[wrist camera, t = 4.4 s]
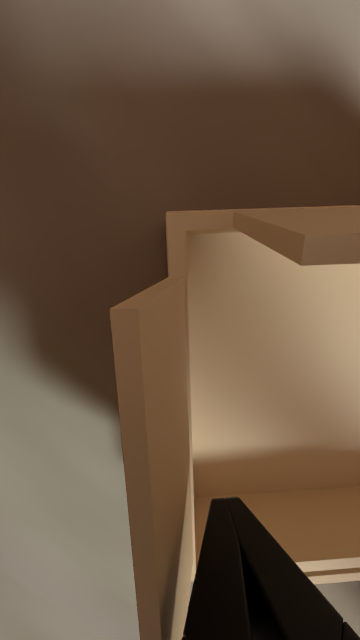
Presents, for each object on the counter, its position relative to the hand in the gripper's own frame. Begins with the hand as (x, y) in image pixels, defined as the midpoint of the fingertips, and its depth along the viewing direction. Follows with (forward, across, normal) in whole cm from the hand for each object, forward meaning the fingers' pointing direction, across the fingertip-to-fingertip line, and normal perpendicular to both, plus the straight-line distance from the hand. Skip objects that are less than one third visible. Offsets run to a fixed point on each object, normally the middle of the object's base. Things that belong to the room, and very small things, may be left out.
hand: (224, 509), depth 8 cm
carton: (+6, -5, -1) cm, 8 cm away
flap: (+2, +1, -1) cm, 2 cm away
